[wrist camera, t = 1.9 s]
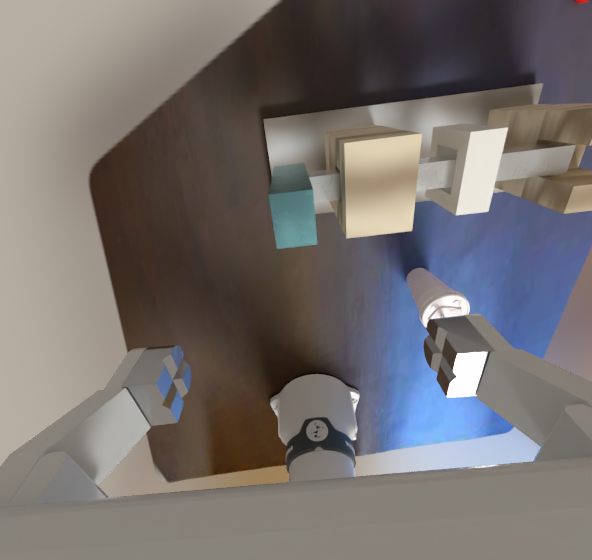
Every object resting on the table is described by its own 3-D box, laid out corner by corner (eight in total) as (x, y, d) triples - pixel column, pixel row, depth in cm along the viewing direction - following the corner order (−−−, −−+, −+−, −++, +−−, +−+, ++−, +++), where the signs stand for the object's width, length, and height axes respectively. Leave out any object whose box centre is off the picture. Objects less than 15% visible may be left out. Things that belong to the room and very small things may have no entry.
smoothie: (394, 268, 46) (432, 325, 34) (435, 254, 45) (490, 308, 33) (401, 298, 49) (439, 361, 37) (440, 286, 48) (491, 347, 36)
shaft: (537, 175, 30) (653, 206, 20) (280, 205, 31) (277, 248, 21) (550, 132, 28) (686, 144, 18) (274, 166, 29) (268, 194, 19)
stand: (508, 188, 40) (616, 227, 27) (278, 215, 41) (274, 265, 28) (535, 83, 34) (693, 68, 20) (263, 119, 35) (250, 125, 22)
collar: (451, 192, 33) (488, 211, 27) (424, 195, 33) (455, 215, 27) (462, 123, 29) (508, 127, 23) (433, 127, 29) (470, 131, 23)
